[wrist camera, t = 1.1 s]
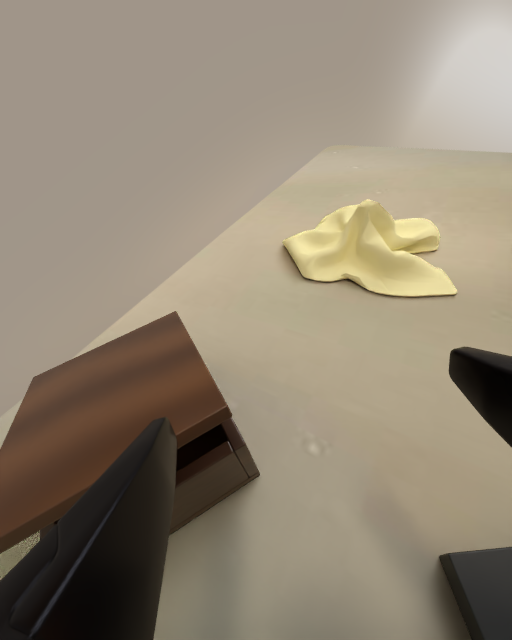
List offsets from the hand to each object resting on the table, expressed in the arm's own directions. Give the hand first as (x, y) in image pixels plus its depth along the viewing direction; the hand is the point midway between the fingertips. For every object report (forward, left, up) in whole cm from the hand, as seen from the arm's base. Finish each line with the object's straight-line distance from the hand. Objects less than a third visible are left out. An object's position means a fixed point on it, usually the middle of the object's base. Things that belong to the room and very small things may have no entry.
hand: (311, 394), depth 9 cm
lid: (+2, +12, -7) cm, 14 cm away
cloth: (+30, -6, -15) cm, 34 cm away
